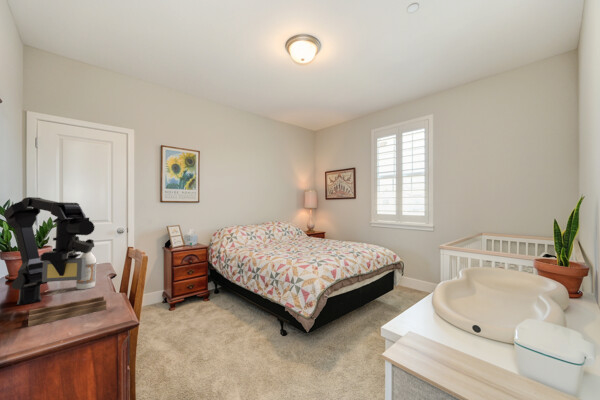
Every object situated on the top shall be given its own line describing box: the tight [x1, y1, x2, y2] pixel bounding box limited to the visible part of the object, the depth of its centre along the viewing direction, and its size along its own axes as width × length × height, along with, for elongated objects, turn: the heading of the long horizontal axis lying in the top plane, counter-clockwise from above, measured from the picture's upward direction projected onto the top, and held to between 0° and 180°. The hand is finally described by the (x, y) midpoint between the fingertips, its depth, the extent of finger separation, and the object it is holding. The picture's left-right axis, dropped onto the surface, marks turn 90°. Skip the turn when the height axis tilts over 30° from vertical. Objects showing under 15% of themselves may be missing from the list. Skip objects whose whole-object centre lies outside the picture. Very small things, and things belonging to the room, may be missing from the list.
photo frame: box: [42, 257, 86, 283], centre depth 97 cm, size 12×3×8 cm, turn 109°
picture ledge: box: [27, 295, 107, 328], centre depth 89 cm, size 20×8×3 cm, turn 136°
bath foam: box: [75, 251, 97, 290], centre depth 119 cm, size 7×7×20 cm
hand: (64, 274), depth 96 cm, fingers closed on photo frame, 3 cm apart
